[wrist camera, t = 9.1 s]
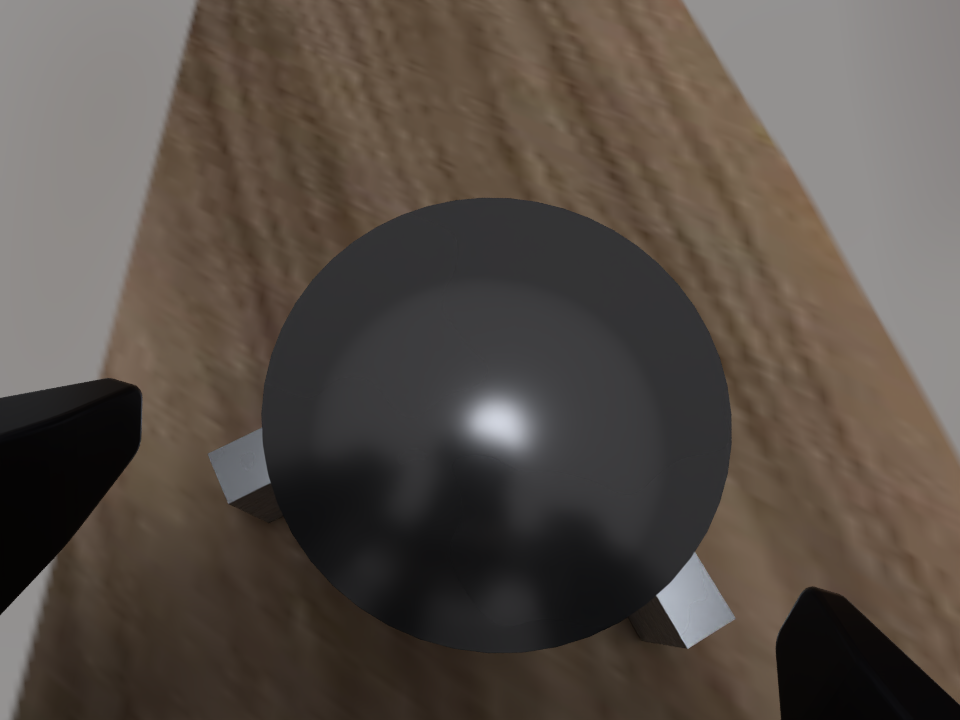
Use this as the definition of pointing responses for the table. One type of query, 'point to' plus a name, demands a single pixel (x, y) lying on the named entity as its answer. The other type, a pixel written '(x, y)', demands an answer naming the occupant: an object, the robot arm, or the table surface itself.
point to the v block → (664, 620)
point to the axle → (496, 425)
